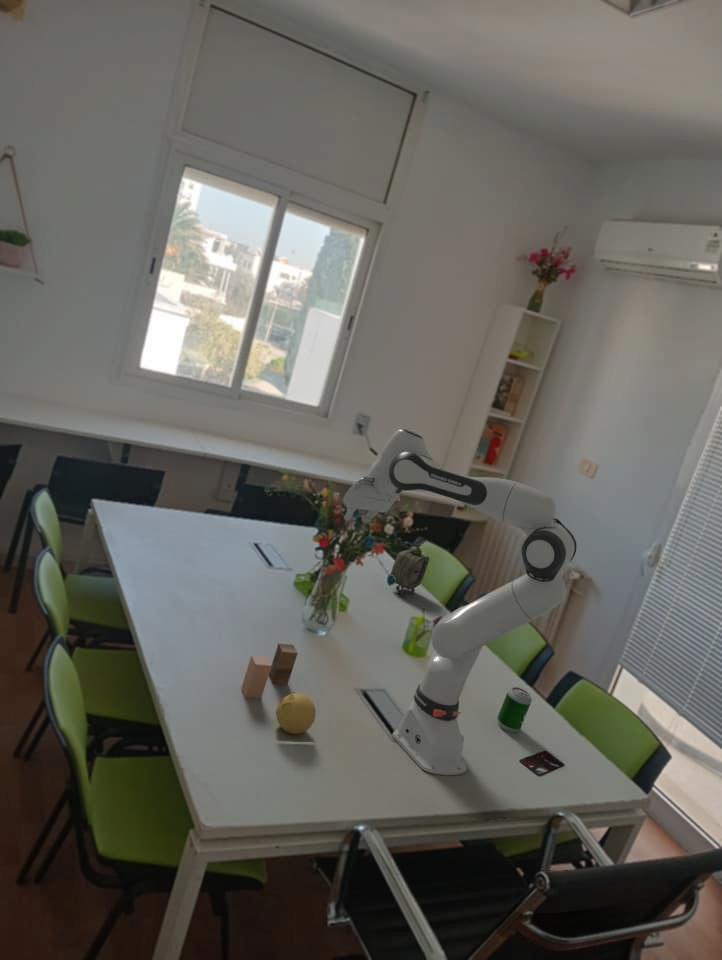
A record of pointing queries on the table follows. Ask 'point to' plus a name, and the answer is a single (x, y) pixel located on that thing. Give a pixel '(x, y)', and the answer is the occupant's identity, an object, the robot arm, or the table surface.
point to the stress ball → (296, 713)
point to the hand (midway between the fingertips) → (355, 520)
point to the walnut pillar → (283, 664)
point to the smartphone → (541, 763)
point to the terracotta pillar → (256, 677)
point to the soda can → (514, 709)
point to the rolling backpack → (410, 568)
